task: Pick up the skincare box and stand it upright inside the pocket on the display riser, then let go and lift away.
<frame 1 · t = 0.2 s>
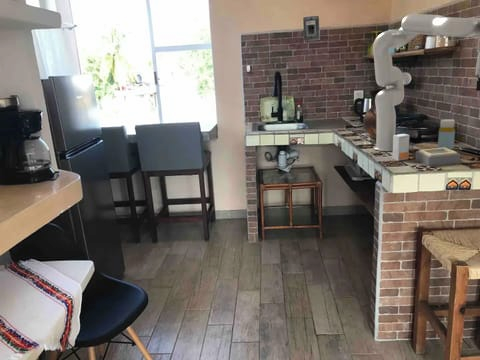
display riser: (436, 161, 174), on the table
bottle: (445, 150, 191), on the table
skincare box: (400, 159, 182), on the table
ceramic vessel: (378, 138, 231), on the table
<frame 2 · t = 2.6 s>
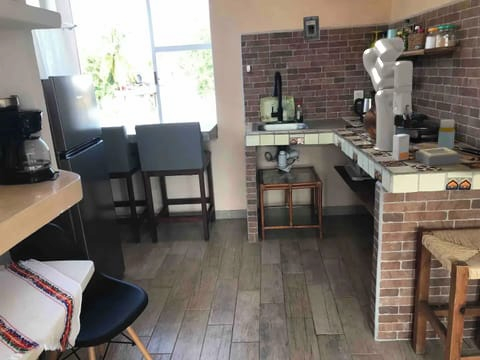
hand: (401, 126, 177), 16 cm above the table, tool pointing down, fingers open, 9 cm apart
nothing on the table moved.
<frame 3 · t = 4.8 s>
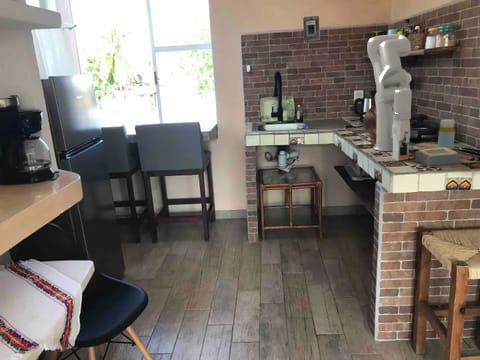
hand: (400, 153, 181), 3 cm above the table, tool pointing down, fingers closed on skincare box, 5 cm apart
skincare box: (400, 159, 182), on the table, touching gripper
everything else where it was.
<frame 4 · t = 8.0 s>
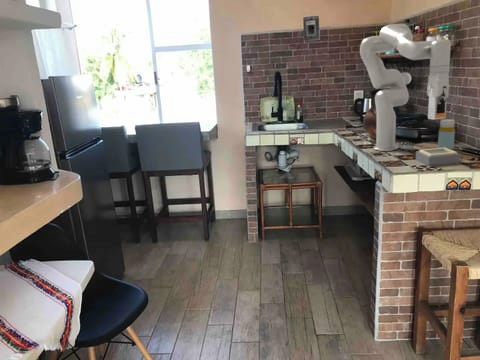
hand: (437, 111, 167), 23 cm above the table, tool pointing down, fingers closed on skincare box, 5 cm apart
skincare box: (436, 119, 168), point 20 cm above the table, touching gripper
everything else where it was.
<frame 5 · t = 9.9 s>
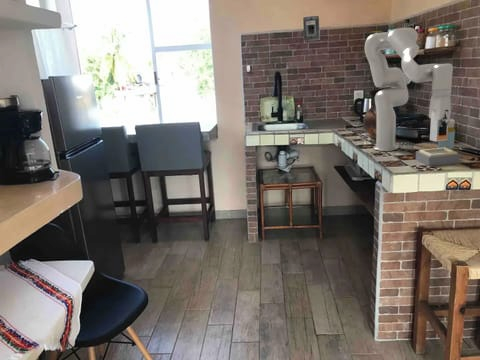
hand: (438, 133, 170), 13 cm above the table, tool pointing down, fingers closed on skincare box, 5 cm apart
skincare box: (438, 140, 171), point 10 cm above the table, touching gripper
everything else where it was.
when the fingers open (9 cm above the table, at t = 11.5 s): skincare box drops 2 cm, resting on display riser.
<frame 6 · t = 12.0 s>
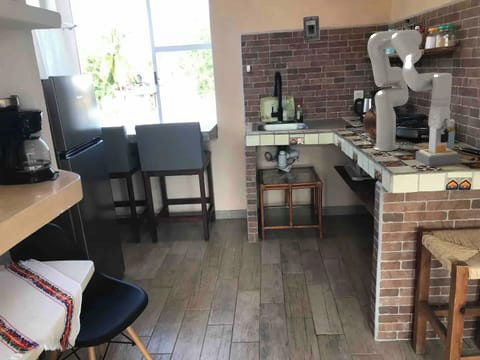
hand: (438, 140, 171), 10 cm above the table, tool pointing down, fingers open, 9 cm apart
skincare box: (437, 153, 172), point 4 cm above the table, touching display riser
everything else where it was.
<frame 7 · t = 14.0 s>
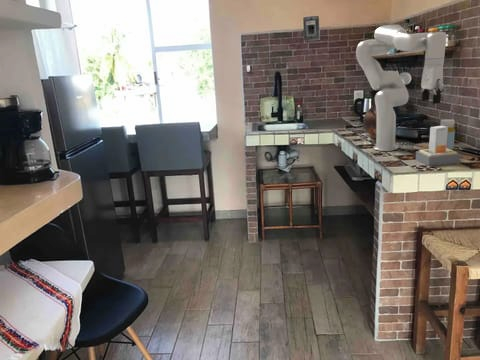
hand: (430, 101, 170), 27 cm above the table, tool pointing down, fingers open, 9 cm apart
nothing on the table moved.
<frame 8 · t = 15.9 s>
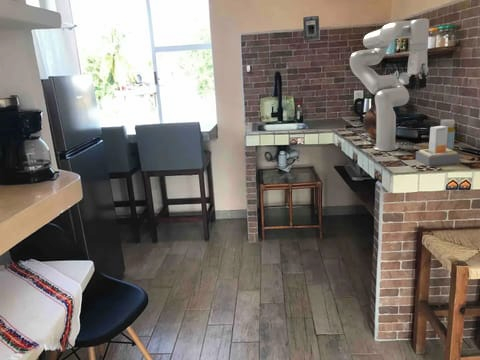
hand: (416, 86, 175), 33 cm above the table, tool pointing down, fingers open, 9 cm apart
nothing on the table moved.
at the end: skincare box 0.1 cm off-centre on the display riser, point 3.8 cm above the display riser's base; skincare box tilted 0°; the gripper is holding nothing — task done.
